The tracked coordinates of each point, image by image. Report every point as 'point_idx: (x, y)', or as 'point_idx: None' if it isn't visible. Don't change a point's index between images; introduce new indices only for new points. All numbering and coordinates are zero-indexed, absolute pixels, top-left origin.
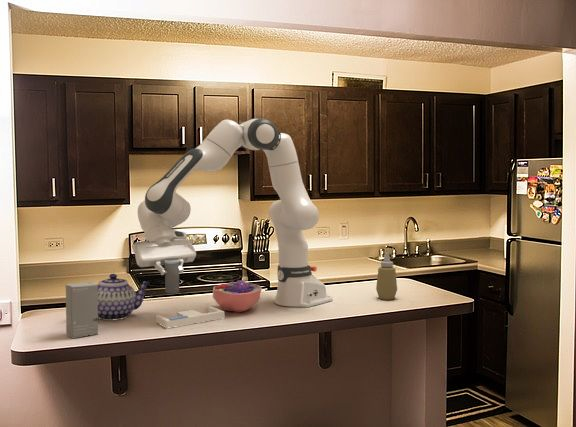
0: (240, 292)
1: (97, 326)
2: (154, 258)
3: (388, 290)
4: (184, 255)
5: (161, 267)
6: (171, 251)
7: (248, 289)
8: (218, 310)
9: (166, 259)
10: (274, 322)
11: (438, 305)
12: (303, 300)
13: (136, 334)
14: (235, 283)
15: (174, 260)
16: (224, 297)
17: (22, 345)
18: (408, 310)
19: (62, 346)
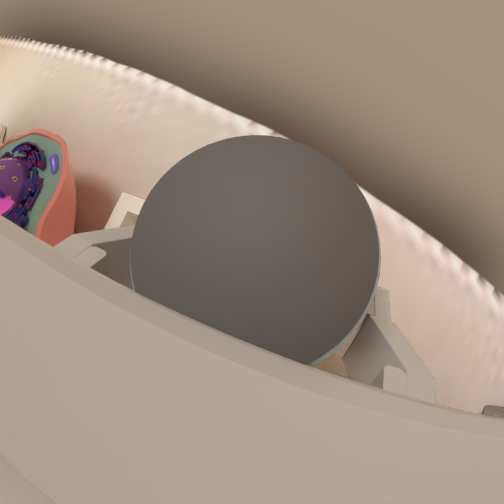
0: (43, 155)
1: (499, 409)
2: (481, 425)
3: None
4: (4, 230)
5: (389, 326)
6: (45, 393)
7: (16, 156)
8: (118, 218)
9: (364, 269)
10: (122, 88)
11: (2, 39)
12: None
13: (436, 315)
14: (4, 181)
15: (301, 145)
16: (66, 205)
17: None
18: (22, 37)
19: None
